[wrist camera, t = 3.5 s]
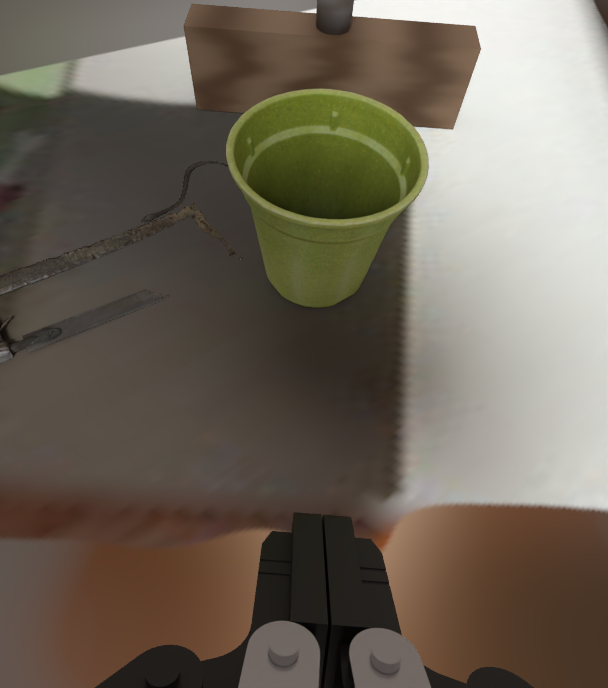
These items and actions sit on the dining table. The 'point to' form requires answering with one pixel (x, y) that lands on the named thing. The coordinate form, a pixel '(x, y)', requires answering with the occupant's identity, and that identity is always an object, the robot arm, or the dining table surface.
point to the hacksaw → (45, 269)
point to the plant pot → (324, 186)
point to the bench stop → (329, 59)
